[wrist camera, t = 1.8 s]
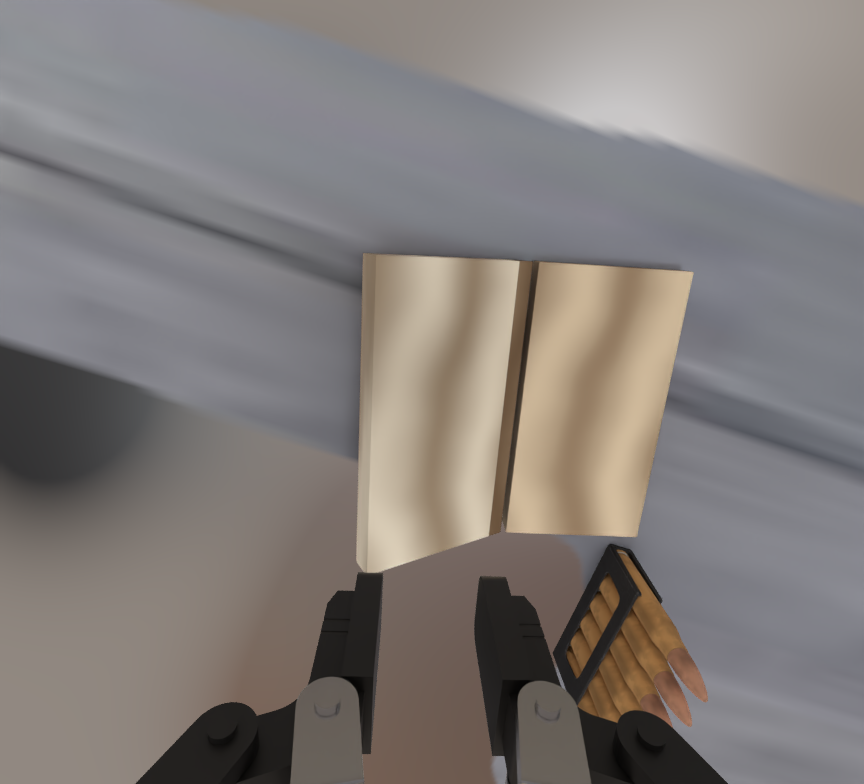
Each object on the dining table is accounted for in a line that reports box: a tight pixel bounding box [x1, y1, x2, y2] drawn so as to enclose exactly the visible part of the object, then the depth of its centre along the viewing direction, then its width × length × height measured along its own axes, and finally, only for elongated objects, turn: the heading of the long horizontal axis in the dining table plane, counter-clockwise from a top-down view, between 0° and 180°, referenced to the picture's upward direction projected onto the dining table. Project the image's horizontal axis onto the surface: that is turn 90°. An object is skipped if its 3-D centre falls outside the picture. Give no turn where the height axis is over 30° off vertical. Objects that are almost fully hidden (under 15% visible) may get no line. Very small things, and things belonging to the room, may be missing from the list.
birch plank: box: [356, 253, 533, 573], centre depth 29 cm, size 10×18×2 cm, turn 176°
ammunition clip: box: [553, 545, 708, 728], centre depth 32 cm, size 11×2×12 cm, turn 161°
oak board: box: [502, 261, 694, 537], centre depth 32 cm, size 9×18×2 cm, turn 176°
